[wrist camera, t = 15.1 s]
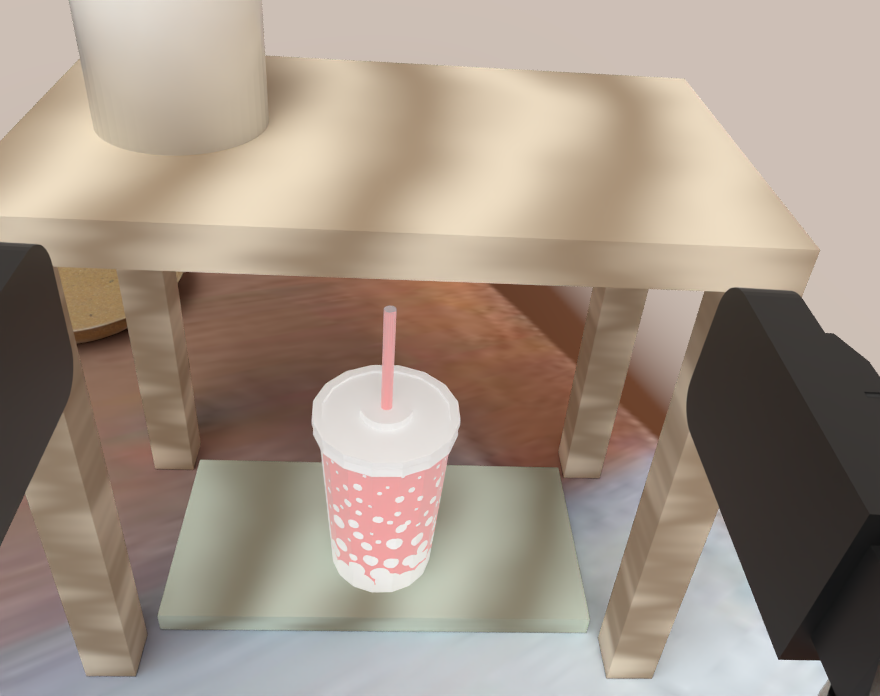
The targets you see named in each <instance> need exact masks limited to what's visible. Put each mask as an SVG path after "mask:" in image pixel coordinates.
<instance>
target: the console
mask: <svg viewBox="0 0 880 696" xmlns="http://www.w3.org/2000/svg"><path fill="white" fill-rule="evenodd" d="M265 62H266V78H267V95H268V111H269V123H268V126H267V128H266V129H265V131H264V132H263V133H262V134H260V135H259V136H258V137H256V138H255V139H253V140H251V141H249V142H247V143H245V144H242V145H239V146H237V147H234V148H230V149H226V150H222V151H217V152H212V153H205V154H196V155H178V156H173V155H153V154H145V153H138V152H133V151H129V150H125V149H122V148H119V147H116V146H113V145H111V144H109V143H107V142H105V141H104V140H102V139H101V138H100V137H99V136H98V135H97V134H96V133H95V131H94V129H93V124H92V118H91V113H90V108H89V103H88V98H87V92H86V87H85V82H84V77H83V72H82V67H81V61H80V59H79V60H78V61H77V62H76V63H75V64H74V65H73V66H72V67H71V68H70V69H69V70H68V71H67V72H66V73H65V75H63V76H62V77H61V78H60V79H59V80H58V82H57V83H56V84H55V85H54V86H53V87H52V88H51V89H50V90H49V91H48V92H47V93H46V94H45V95H44V96H43V97H42V98H41V99H40V100H39V101H38V102H37V104H35V106H33V108H32V109H31V110H30V111H29V112H28V113H27V114H26V115H25V116H24V117H23V118H22V119H21V120H20V121H19V122H18V123H17V124H16V125H15V126H14V127H13V128H12V129H11V130H10V131H9V132H8V134H7V135H6V136H5V137H4V138H3V139H2V140H1V141H0V242H9V243H26V244H39V245H42V246H43V247H44V248H45V249H46V250H47V252H48V253H49V256H50V258H51V261H52V265H53V269H54V274H55V278H56V282H57V287H58V291H59V295H60V300H61V304H62V308H63V313H64V317H65V322H66V326H67V330H68V335H69V339H70V343H71V348H72V353H73V381H72V388H71V392H70V396H69V399H68V402H67V404H66V407H65V409H64V411H63V413H62V415H61V417H60V419H59V422H58V424H57V426H56V428H55V430H54V432H53V434H52V437H51V439H50V441H49V443H48V445H47V447H46V449H45V452H44V454H43V456H42V458H41V460H40V462H39V464H38V467H37V469H36V471H35V473H34V475H33V477H32V479H31V482H30V484H29V486H28V488H27V490H26V492H25V495H26V498H27V501H28V504H29V507H30V510H31V513H32V515H33V518H34V521H35V524H36V527H37V530H38V533H39V536H40V539H41V542H42V545H43V548H44V551H45V554H46V557H47V560H48V563H49V566H50V569H51V572H52V575H53V578H54V581H55V584H56V587H57V590H58V593H59V596H60V599H61V602H62V605H63V608H64V611H65V614H66V617H67V619H68V622H69V625H70V628H71V631H72V634H73V637H74V640H75V643H76V646H77V649H78V652H79V655H80V658H81V661H82V664H83V667H84V670H85V673H86V676H136V673H137V670H138V666H139V663H140V659H141V656H142V652H143V648H144V645H145V641H146V638H147V630H146V626H145V622H144V618H143V614H142V610H141V606H140V602H139V598H138V594H137V589H136V585H135V581H134V577H133V573H132V569H131V565H130V561H129V557H128V553H127V549H126V545H125V540H124V536H123V532H122V528H121V524H120V520H119V516H118V512H117V508H116V504H115V500H114V496H113V491H112V487H111V483H110V479H109V475H108V471H107V467H106V463H105V459H104V455H103V451H102V447H101V442H100V438H99V434H98V430H97V426H96V422H95V418H94V414H93V410H92V406H91V402H90V397H89V393H88V389H87V385H86V381H85V377H84V373H83V369H82V365H81V361H80V357H79V353H78V348H77V344H76V340H75V336H74V332H73V328H72V324H71V320H70V316H69V312H68V308H67V304H66V299H65V295H64V291H63V287H62V283H61V279H60V275H59V271H58V267H73V268H100V269H116V271H117V276H118V281H119V286H120V291H121V296H122V302H123V307H124V312H125V317H126V322H127V327H128V332H129V337H130V342H131V348H132V353H133V358H134V363H135V368H136V373H137V378H138V383H139V388H140V394H141V399H142V404H143V409H144V414H145V419H146V424H147V429H148V434H149V440H150V445H151V450H152V455H153V460H154V465H155V469H187V470H194V466H195V463H196V459H197V455H198V452H199V448H200V445H201V441H200V435H199V428H198V421H197V414H196V407H195V400H194V393H193V386H192V380H191V373H190V366H189V359H188V352H187V345H186V338H185V331H184V325H183V318H182V311H181V304H180V297H179V290H178V283H177V277H176V271H180V272H207V273H234V274H261V275H287V276H314V277H341V278H367V279H394V280H421V281H448V282H474V283H502V284H529V285H555V286H582V287H583V286H584V287H593V290H592V295H591V299H590V304H589V309H588V314H587V318H586V323H585V328H584V333H583V337H582V342H581V347H580V352H579V356H578V361H577V366H576V371H575V375H574V380H573V385H572V389H571V394H570V399H569V404H568V408H567V413H566V418H565V423H564V427H563V432H562V437H561V442H560V446H559V451H558V453H559V457H560V462H561V467H562V472H563V476H564V478H600V475H601V471H602V467H603V463H604V459H605V455H606V452H607V448H608V444H609V440H610V436H611V432H612V428H613V424H614V421H615V417H616V413H617V409H618V405H619V401H620V397H621V394H622V390H623V386H624V382H625V378H626V374H627V370H628V366H629V362H630V359H631V355H632V351H633V347H634V343H635V339H636V336H637V332H638V328H639V324H640V320H641V316H642V312H643V309H644V305H645V301H646V297H647V293H648V289H661V290H662V289H663V290H688V291H704V295H703V298H702V301H701V304H700V308H699V311H698V314H697V318H696V321H695V324H694V327H693V330H692V334H691V337H690V340H689V343H688V347H687V350H686V353H685V357H684V360H683V363H682V367H681V369H680V373H679V376H678V379H677V382H676V386H675V389H674V392H673V396H672V399H671V402H670V405H669V408H668V412H667V415H666V419H665V422H664V425H663V428H662V431H661V434H660V438H659V441H658V444H657V447H656V451H655V454H654V457H653V460H652V464H651V467H650V470H649V473H648V477H647V480H646V483H645V486H644V490H643V493H642V496H641V499H640V503H639V506H638V509H637V512H636V516H635V519H634V522H633V525H632V529H631V532H630V535H629V538H628V542H627V545H626V548H625V551H624V555H623V558H622V561H621V564H620V568H619V571H618V574H617V578H616V581H615V584H614V587H613V591H612V594H611V597H610V600H609V604H608V607H607V610H606V613H605V617H604V620H603V623H602V626H601V630H600V633H599V636H598V640H599V645H600V650H601V654H602V659H603V664H604V668H605V673H606V678H644V679H652V677H653V674H654V672H655V669H656V666H657V664H658V661H659V659H660V656H661V654H662V651H663V649H664V646H665V644H666V641H667V638H668V636H669V633H670V631H671V628H672V626H673V623H674V621H675V618H676V616H677V613H678V611H679V608H680V605H681V603H682V600H683V598H684V595H685V593H686V590H687V588H688V585H689V583H690V580H691V577H692V575H693V572H694V570H695V567H696V565H697V562H698V560H699V557H700V555H701V552H702V549H703V547H704V544H705V542H706V539H707V537H708V534H709V532H710V529H711V527H712V524H713V522H714V519H715V516H716V514H717V511H718V509H719V506H718V503H717V501H716V498H715V496H714V493H713V491H712V488H711V485H710V483H709V480H708V478H707V475H706V473H705V470H704V468H703V465H702V462H701V460H700V457H699V455H698V452H697V450H696V447H695V444H694V442H693V439H692V437H691V434H690V431H689V428H688V423H687V414H686V401H687V392H688V387H689V384H690V380H691V378H692V375H693V372H694V369H695V367H696V364H697V361H698V359H699V356H700V353H701V351H702V348H703V345H704V342H705V340H706V337H707V334H708V332H709V329H710V326H711V324H712V321H713V318H714V315H715V313H716V310H717V307H718V305H719V302H720V300H721V298H722V296H723V295H724V294H725V292H726V291H727V290H729V289H730V288H733V287H739V288H755V289H772V290H789V291H794V292H796V293H798V294H799V295H800V296H801V298H802V295H803V293H804V290H805V288H806V285H807V283H808V280H809V277H810V275H811V272H812V270H813V267H814V265H815V262H816V260H817V257H818V255H819V252H820V249H819V248H818V247H817V245H816V244H815V243H814V242H813V240H812V239H811V238H810V236H809V235H808V234H807V233H806V232H805V230H804V229H803V228H802V226H801V225H800V224H799V223H798V221H797V220H796V219H795V218H794V216H793V215H792V214H791V212H790V211H789V210H788V209H787V207H786V206H785V205H784V204H783V202H782V201H781V200H780V199H779V197H778V196H777V195H776V194H775V192H774V191H773V190H772V188H771V187H770V186H769V185H768V183H767V182H766V181H765V180H764V178H763V177H762V176H761V175H760V173H759V172H758V171H757V169H756V168H755V167H754V166H753V164H752V163H751V162H750V161H749V159H748V158H747V157H746V156H745V154H744V153H743V152H742V151H741V149H740V148H739V147H738V145H737V144H736V143H735V142H734V141H733V139H732V138H731V137H730V135H729V134H728V133H727V132H726V130H725V129H724V128H723V127H722V125H721V124H720V123H719V121H718V120H717V119H716V118H715V117H714V115H713V114H712V113H711V112H710V110H709V109H708V108H707V106H706V105H705V104H704V103H703V101H702V100H701V99H700V98H699V96H698V95H697V94H696V92H695V91H694V90H693V89H692V87H691V86H690V85H689V84H688V82H687V81H686V80H685V79H677V78H660V77H642V76H623V75H606V74H588V73H569V72H551V71H534V70H516V69H498V68H479V67H462V66H444V65H426V64H407V63H388V62H372V61H354V60H336V59H317V58H299V57H280V56H265ZM157 616H158V621H159V625H160V629H179V630H301V631H423V632H544V633H586V632H587V628H588V625H589V621H590V617H589V613H588V608H587V603H586V598H585V593H584V589H583V584H582V579H581V574H580V569H579V565H578V560H577V555H576V550H575V545H574V541H573V536H572V531H571V526H570V522H569V517H568V512H567V507H566V502H565V498H564V493H563V488H562V483H561V478H560V474H559V469H558V468H552V467H507V466H462V465H447V466H446V471H445V477H444V482H443V487H442V493H441V498H440V504H439V509H438V514H437V520H436V525H435V530H434V536H433V541H432V547H431V552H430V557H429V561H428V563H427V566H426V568H425V570H424V572H423V574H422V575H421V576H420V577H419V578H418V579H417V580H415V581H414V582H413V583H412V584H411V585H410V586H407V587H404V588H402V589H399V590H396V591H394V592H369V591H366V590H363V589H360V588H357V587H354V586H352V585H351V584H350V583H349V582H348V581H346V580H345V579H344V578H343V577H341V576H340V574H339V572H338V570H337V568H336V566H335V564H334V562H333V556H332V547H331V538H330V529H329V520H328V511H327V502H326V493H325V484H324V475H323V467H322V462H281V461H235V460H200V462H199V466H198V469H197V473H196V477H195V480H194V484H193V488H192V491H191V495H190V499H189V502H188V506H187V509H186V513H185V517H184V520H183V524H182V528H181V531H180V535H179V539H178V542H177V546H176V549H175V553H174V557H173V560H172V564H171V568H170V571H169V575H168V579H167V582H166V586H165V590H164V593H163V597H162V600H161V604H160V608H159V611H158V615H157Z"/></svg>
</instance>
